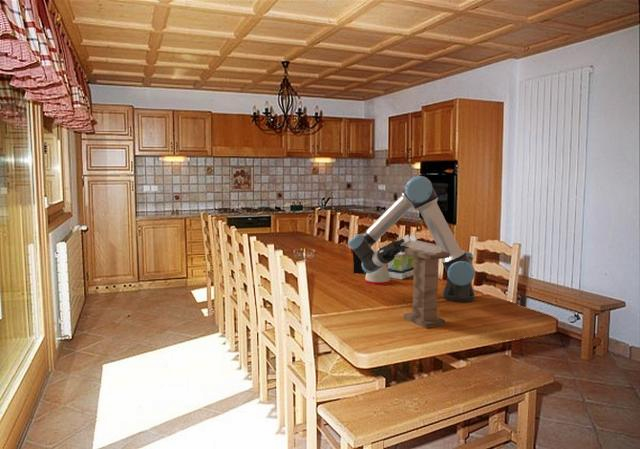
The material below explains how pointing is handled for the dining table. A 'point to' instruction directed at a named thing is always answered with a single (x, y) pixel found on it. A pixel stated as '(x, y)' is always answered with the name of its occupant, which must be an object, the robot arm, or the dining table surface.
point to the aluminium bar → (422, 246)
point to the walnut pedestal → (425, 288)
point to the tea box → (401, 266)
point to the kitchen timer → (378, 277)
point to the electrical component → (357, 264)
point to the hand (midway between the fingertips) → (412, 237)
